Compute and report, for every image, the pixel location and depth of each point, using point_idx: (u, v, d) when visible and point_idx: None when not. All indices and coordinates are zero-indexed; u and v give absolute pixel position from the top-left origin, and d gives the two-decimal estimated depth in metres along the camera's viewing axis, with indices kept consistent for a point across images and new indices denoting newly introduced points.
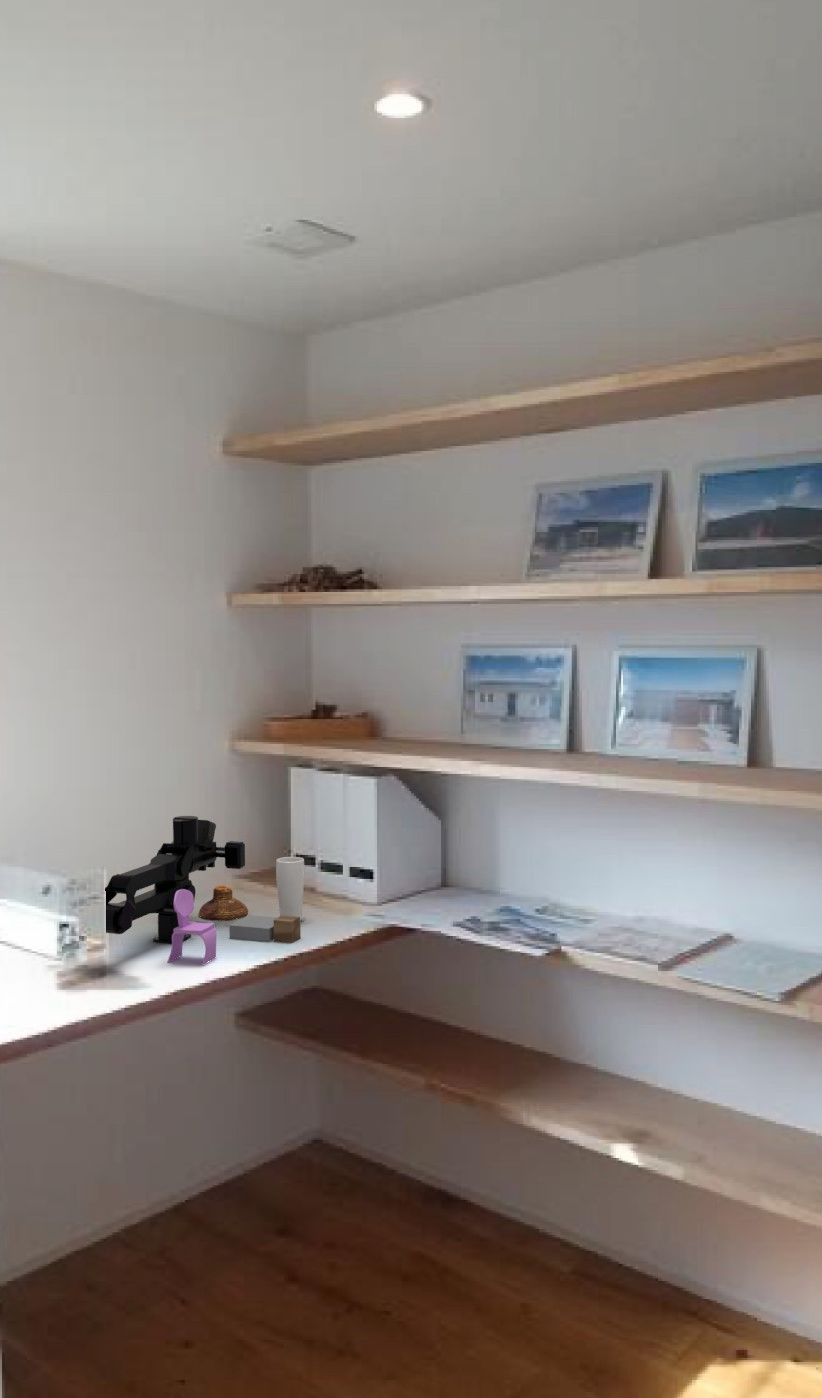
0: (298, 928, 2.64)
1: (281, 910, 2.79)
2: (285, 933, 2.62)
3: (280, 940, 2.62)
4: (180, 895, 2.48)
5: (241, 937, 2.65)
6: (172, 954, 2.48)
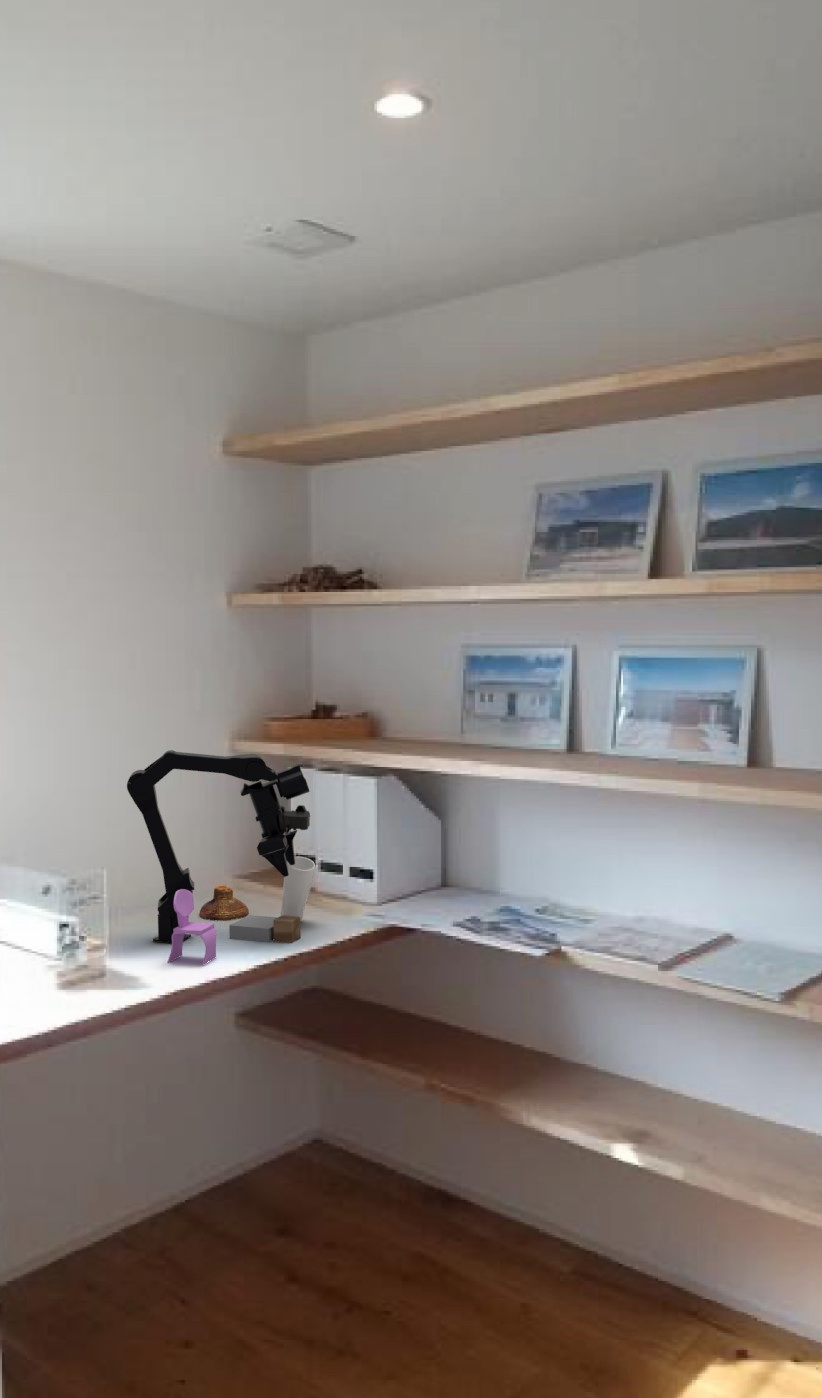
0: (298, 928, 2.64)
1: (283, 908, 2.78)
2: (285, 933, 2.62)
3: (280, 940, 2.62)
4: (180, 895, 2.48)
5: (241, 937, 2.65)
6: (172, 954, 2.48)
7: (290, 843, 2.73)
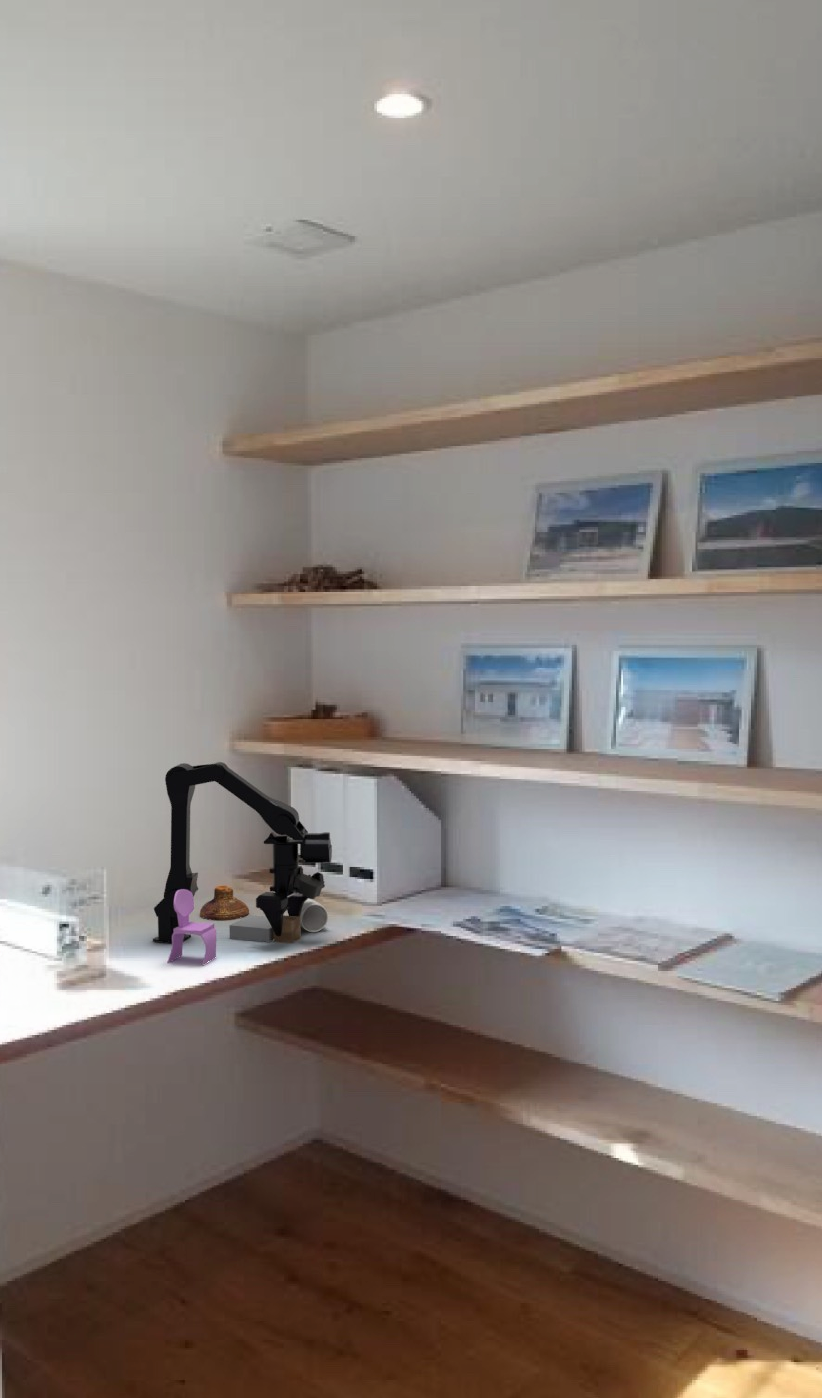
0: (298, 928, 2.64)
1: None
2: (285, 933, 2.62)
3: (280, 940, 2.62)
4: (180, 895, 2.48)
5: (241, 937, 2.65)
6: (172, 954, 2.48)
7: (298, 905, 2.68)
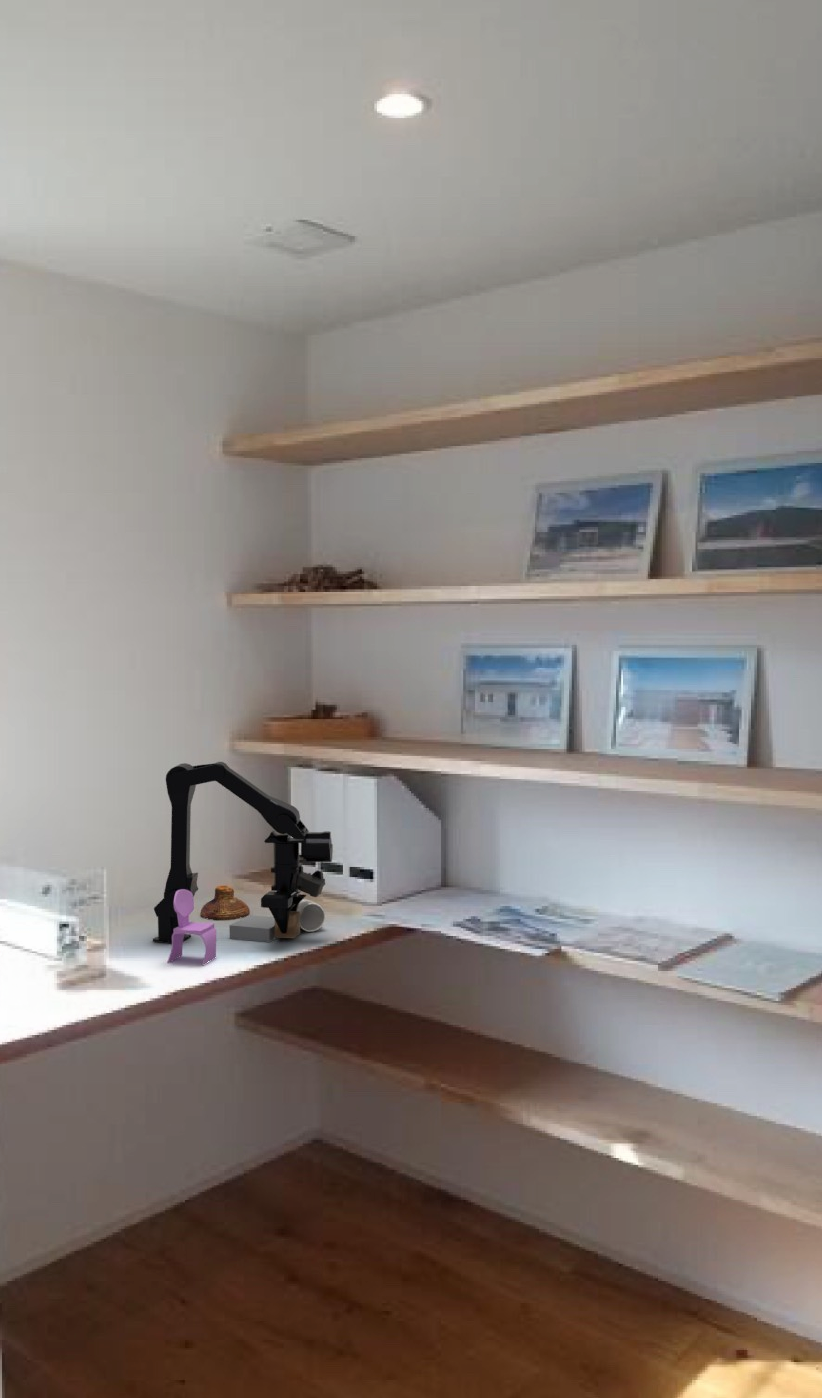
0: (298, 923, 2.65)
1: None
2: (287, 928, 2.62)
3: (281, 935, 2.62)
4: (180, 895, 2.48)
5: (241, 937, 2.65)
6: (172, 954, 2.48)
7: (294, 906, 2.66)
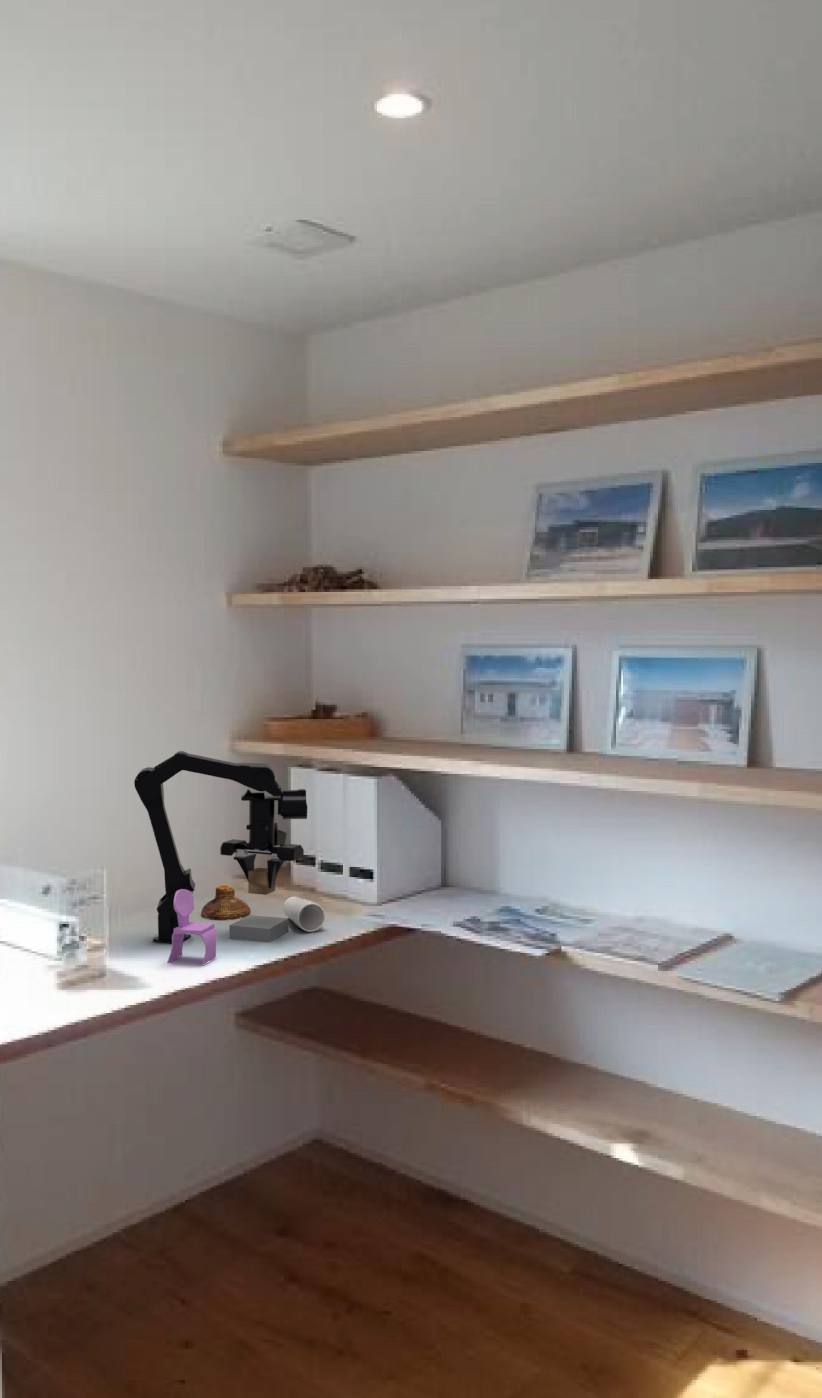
0: None
1: (286, 911, 2.80)
2: None
3: (269, 891, 2.66)
4: (180, 895, 2.48)
5: (241, 937, 2.65)
6: (172, 954, 2.48)
7: (252, 864, 2.69)
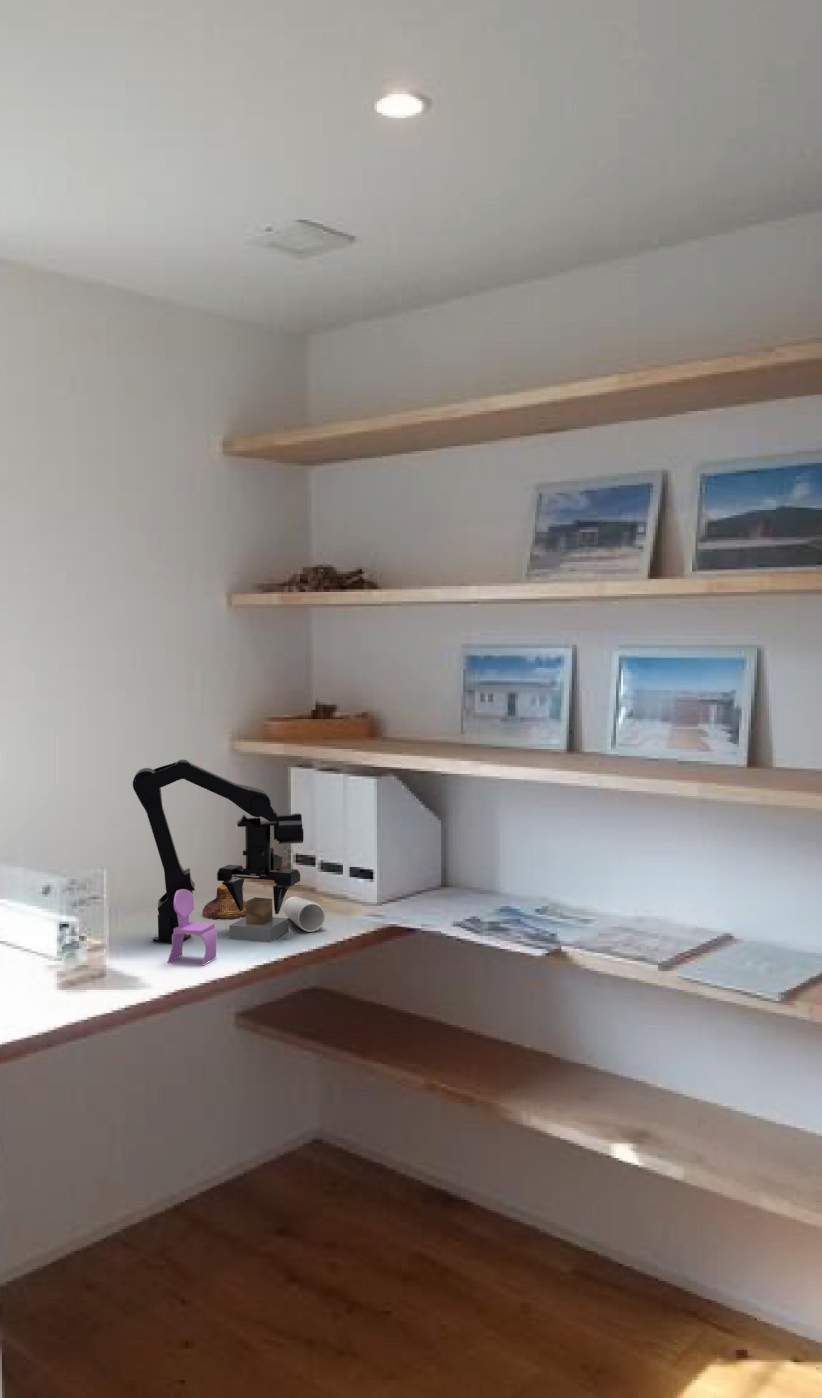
0: None
1: (286, 911, 2.80)
2: (269, 912, 2.68)
3: (267, 921, 2.67)
4: (180, 895, 2.48)
5: (241, 937, 2.65)
6: (172, 954, 2.48)
7: (241, 888, 2.71)
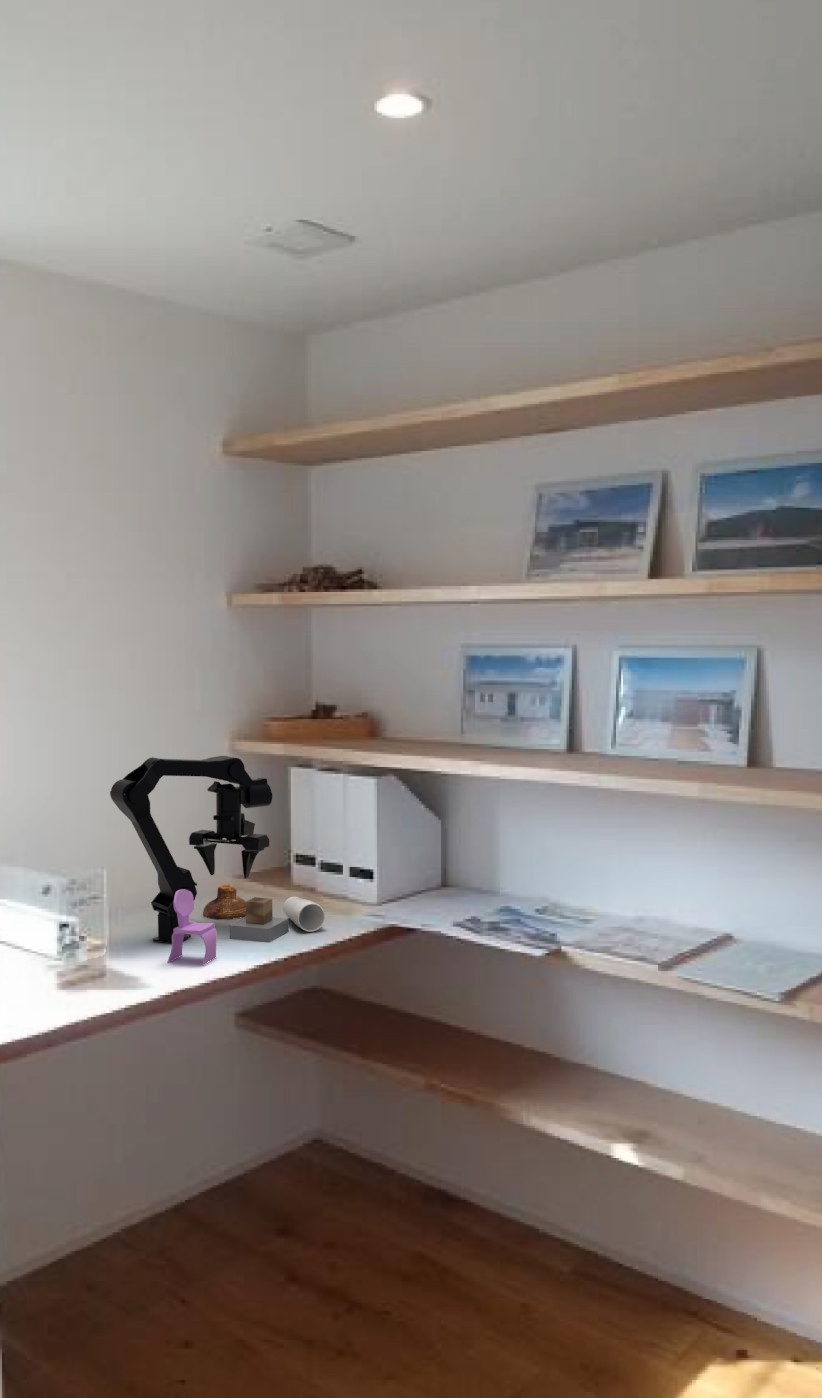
0: None
1: (286, 911, 2.80)
2: (269, 912, 2.68)
3: (267, 921, 2.67)
4: (180, 895, 2.48)
5: (241, 937, 2.65)
6: (172, 954, 2.48)
7: (212, 853, 2.76)
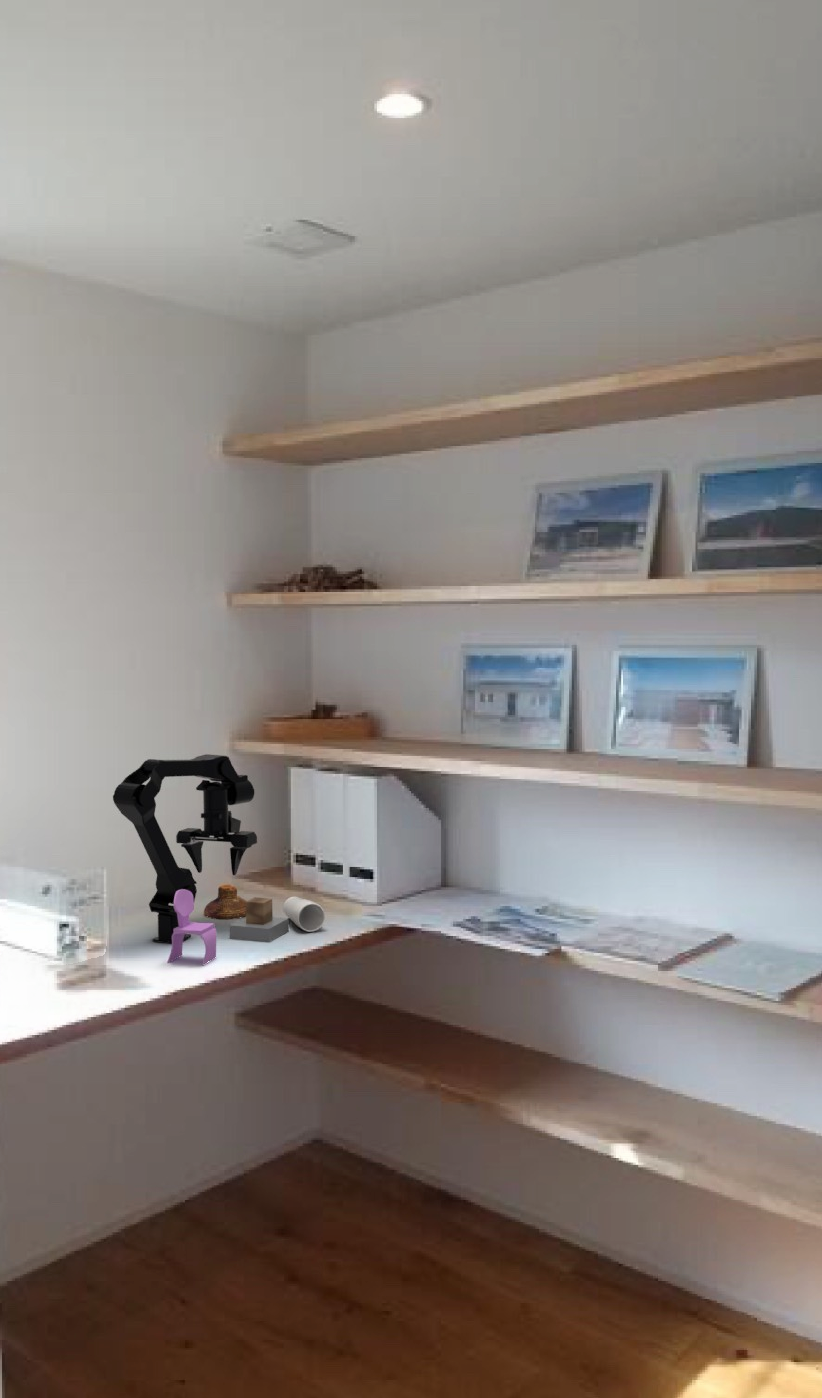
0: None
1: (286, 911, 2.80)
2: (269, 912, 2.68)
3: (267, 921, 2.67)
4: (180, 895, 2.48)
5: (241, 937, 2.65)
6: (172, 954, 2.48)
7: (199, 851, 2.78)
